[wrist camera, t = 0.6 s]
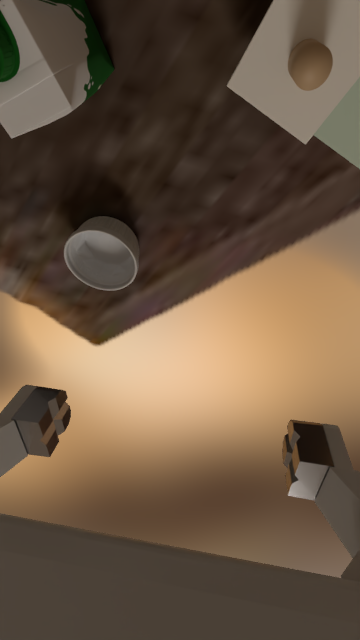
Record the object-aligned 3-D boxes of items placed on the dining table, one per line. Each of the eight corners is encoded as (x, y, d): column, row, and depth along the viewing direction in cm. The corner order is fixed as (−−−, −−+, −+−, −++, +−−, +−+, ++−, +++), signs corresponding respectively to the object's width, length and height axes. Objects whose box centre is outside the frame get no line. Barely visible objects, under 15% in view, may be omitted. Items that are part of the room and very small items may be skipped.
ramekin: (153, 263, 63) (147, 286, 58) (95, 273, 67) (85, 295, 62) (128, 202, 54) (118, 222, 49) (63, 217, 58) (48, 238, 53)
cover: (303, -57, 29) (314, -63, 25) (392, 31, 32) (413, 37, 28) (226, 84, 37) (226, 95, 33) (304, 142, 40) (311, 157, 36)
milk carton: (85, -19, 35) (-6, -22, 22) (124, 75, 41) (73, 119, 28) (26, 22, 38) (-85, 42, 25) (71, 104, 44) (1, 156, 31)
